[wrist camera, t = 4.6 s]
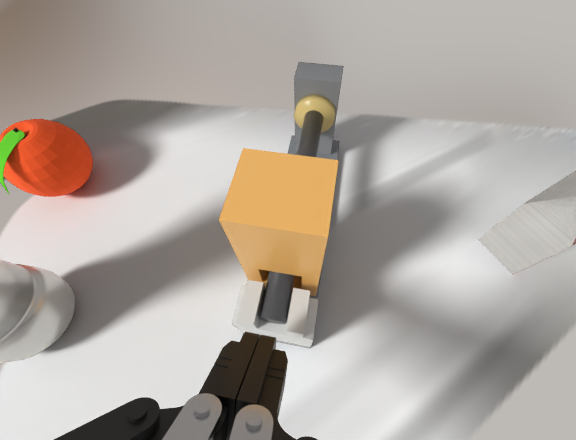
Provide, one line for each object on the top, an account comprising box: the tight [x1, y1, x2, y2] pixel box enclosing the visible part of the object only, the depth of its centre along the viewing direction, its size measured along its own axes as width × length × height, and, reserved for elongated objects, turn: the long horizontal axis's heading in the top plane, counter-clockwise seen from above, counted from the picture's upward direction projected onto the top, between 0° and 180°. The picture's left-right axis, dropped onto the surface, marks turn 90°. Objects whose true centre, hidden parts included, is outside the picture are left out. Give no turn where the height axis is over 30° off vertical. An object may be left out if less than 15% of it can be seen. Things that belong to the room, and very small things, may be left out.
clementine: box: [0, 119, 93, 196], centre depth 27 cm, size 8×7×7 cm
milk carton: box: [478, 171, 576, 274], centre depth 21 cm, size 4×7×10 cm, turn 120°
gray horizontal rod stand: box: [232, 62, 343, 348], centre depth 23 cm, size 20×5×9 cm, turn 169°
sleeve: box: [219, 148, 339, 296], centre depth 17 cm, size 4×5×10 cm
